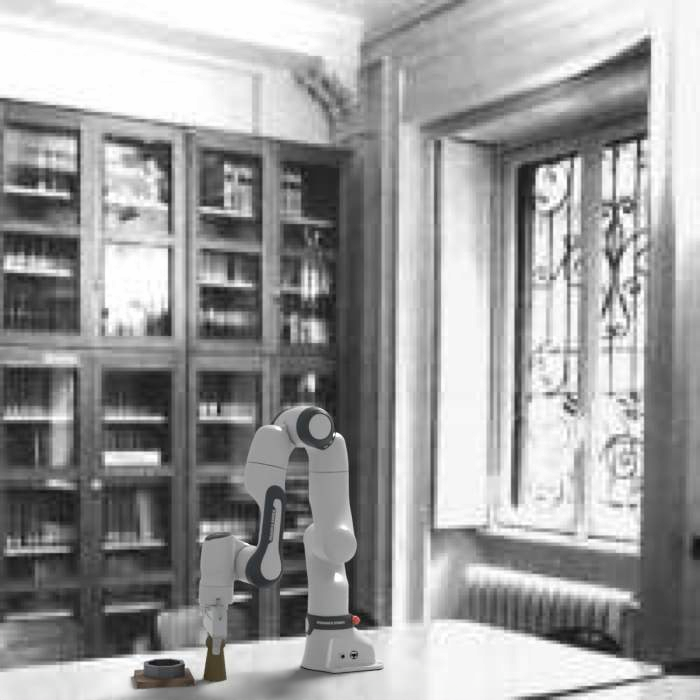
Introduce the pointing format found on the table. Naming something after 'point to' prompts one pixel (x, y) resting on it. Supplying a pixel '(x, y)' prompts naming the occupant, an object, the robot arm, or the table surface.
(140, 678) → the walnut base
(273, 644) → the table surface
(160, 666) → the metal collar
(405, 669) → the table surface
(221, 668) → the cork
